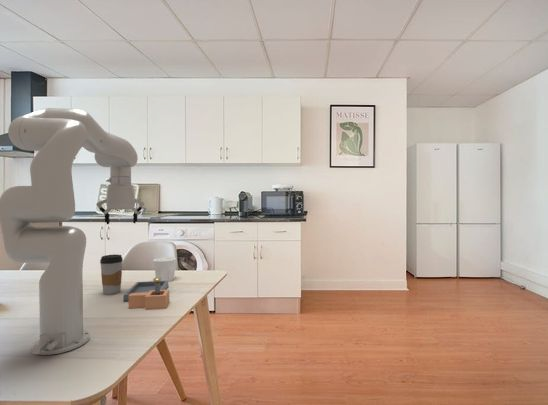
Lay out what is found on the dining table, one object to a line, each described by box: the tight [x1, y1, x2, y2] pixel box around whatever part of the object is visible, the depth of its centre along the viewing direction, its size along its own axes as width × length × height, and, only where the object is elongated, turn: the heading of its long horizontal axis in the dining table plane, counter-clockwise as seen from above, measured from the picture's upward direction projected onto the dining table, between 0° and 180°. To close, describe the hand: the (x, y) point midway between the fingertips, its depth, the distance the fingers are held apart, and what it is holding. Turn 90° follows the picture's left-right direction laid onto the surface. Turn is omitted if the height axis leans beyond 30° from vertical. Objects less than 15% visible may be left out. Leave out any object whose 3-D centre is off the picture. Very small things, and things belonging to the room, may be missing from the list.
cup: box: [153, 256, 177, 283], centre depth 144 cm, size 10×10×10 cm
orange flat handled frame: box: [128, 289, 170, 310], centre depth 110 cm, size 7×13×4 cm, turn 99°
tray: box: [123, 280, 169, 303], centre depth 124 cm, size 18×13×2 cm
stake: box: [153, 277, 161, 295], centre depth 110 cm, size 3×3×10 cm
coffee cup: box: [99, 254, 124, 296], centre depth 125 cm, size 8×8×15 cm
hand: (121, 223), depth 123 cm, fingers open, 9 cm apart
